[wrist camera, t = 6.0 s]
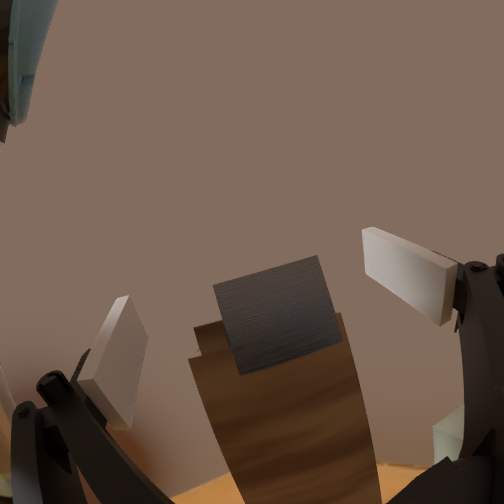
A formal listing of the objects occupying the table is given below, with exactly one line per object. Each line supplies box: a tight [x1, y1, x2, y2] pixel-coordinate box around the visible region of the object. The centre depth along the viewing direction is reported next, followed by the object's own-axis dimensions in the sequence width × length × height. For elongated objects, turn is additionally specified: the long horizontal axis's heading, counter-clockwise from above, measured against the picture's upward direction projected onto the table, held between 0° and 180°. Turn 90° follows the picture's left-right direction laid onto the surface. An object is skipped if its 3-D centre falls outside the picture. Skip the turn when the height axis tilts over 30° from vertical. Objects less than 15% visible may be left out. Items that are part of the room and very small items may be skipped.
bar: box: [213, 255, 343, 376], centre depth 19 cm, size 22×4×3 cm, turn 3°
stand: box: [188, 313, 382, 504], centre depth 19 cm, size 10×10×32 cm
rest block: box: [433, 403, 464, 464], centre depth 8 cm, size 10×7×19 cm
